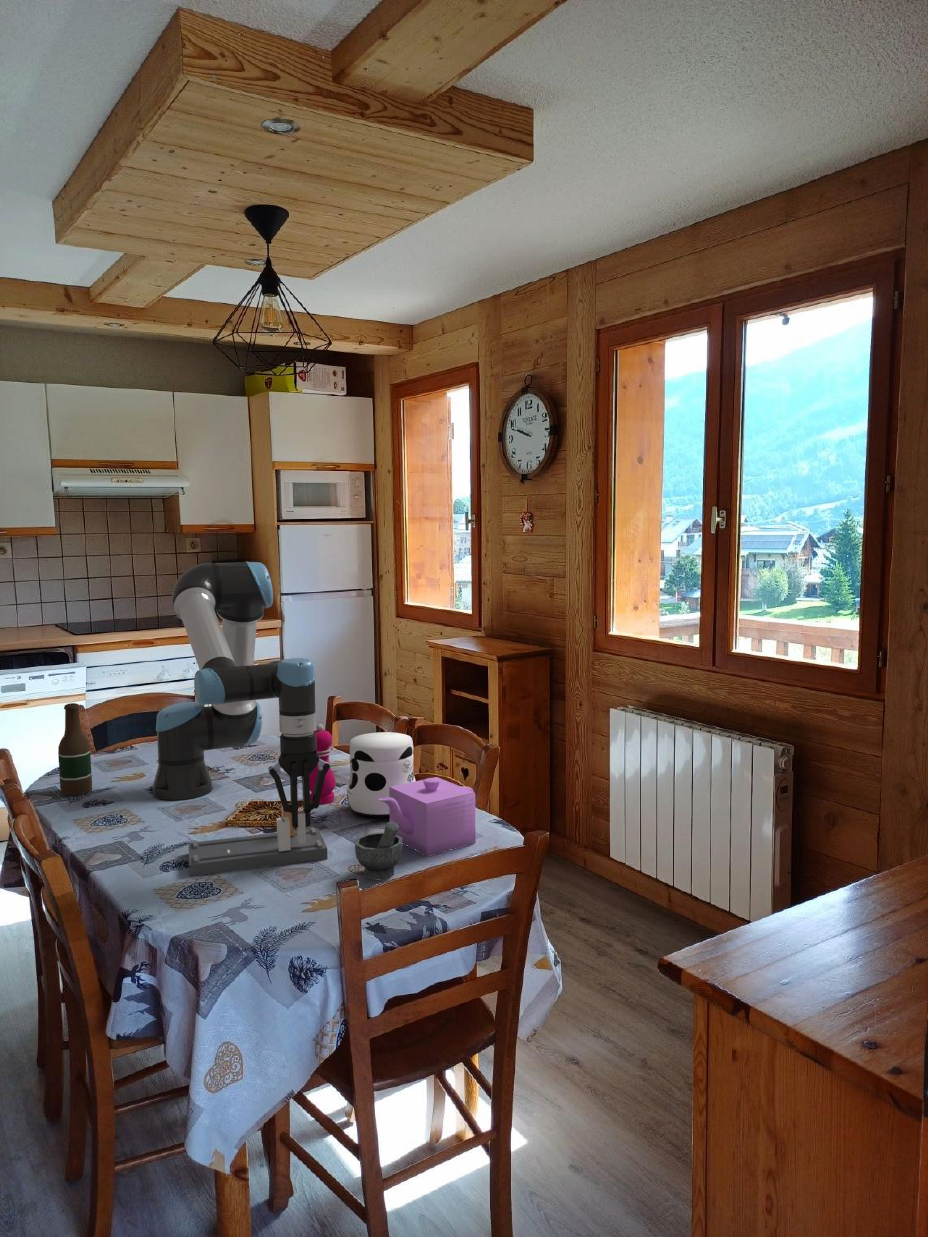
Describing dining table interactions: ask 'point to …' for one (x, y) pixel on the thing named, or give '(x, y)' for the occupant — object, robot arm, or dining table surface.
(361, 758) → the cow-print canister
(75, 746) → the beer bottle
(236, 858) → the console
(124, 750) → the dining table surface
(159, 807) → the dining table surface
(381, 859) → the mortar and pestle
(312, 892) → the dining table surface
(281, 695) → the robot arm
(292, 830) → the orange fader
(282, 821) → the block
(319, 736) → the pepper mill
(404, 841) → the teapot
